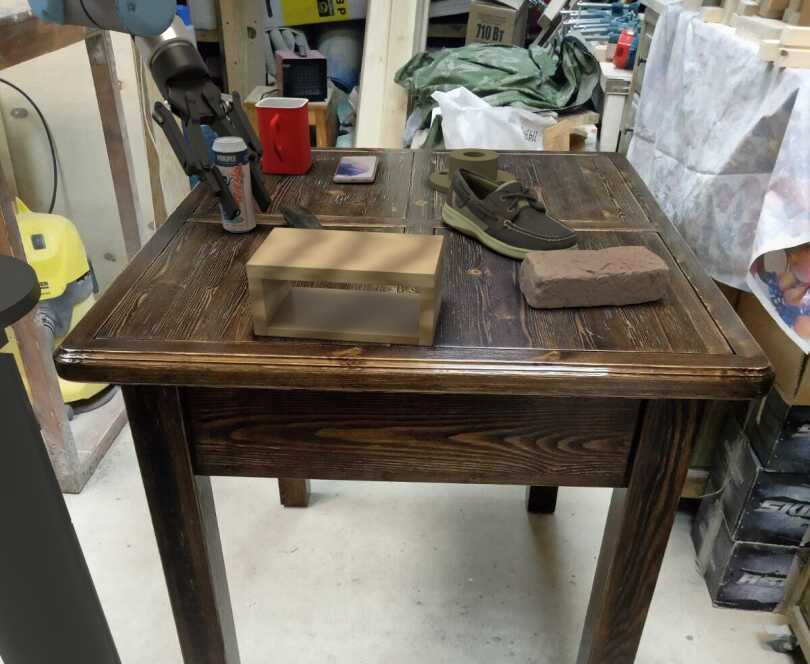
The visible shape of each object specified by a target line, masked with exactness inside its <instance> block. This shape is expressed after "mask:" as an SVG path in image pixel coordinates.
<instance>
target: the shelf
mask: <svg viewBox="0 0 810 664" xmlns="http://www.w3.org/2000/svg"><path fill="white" fill-rule="evenodd" d="M444 243H445V235H440V234H439V235H436V234H418V233H416V234H415V233H398V232H397V233H396V232H378V231H377V232H376V231H375V232H374V231H358V230H357V231H355V230H335V229H326V230H316V229H295V228H290V227H274V228H272V230H271V231H270V232H269V234H268V235H267V237H266V238H265V239H264V240H263V242H262V243H261V244H260V246H259V247H258V248H257V249H256V251H255V252H254V253H253V255H252V256H251V257H250V259H249V260H248V261H247V262H246V264H245V267H246V275H247V282H248V290H249V297H250V303H251V304H250V307H251V313H252V323H253V330H254V336H264V337H266V336H267V337H279V338H280V337H281V338H294V339H295V338H296V339H299V338H300V339H313V340H328V341H329V340H331V341H346V342H361V343H363V342H364V343H379V344H380V343H381V344H395V345H410V346H411V345H412V346H427V347H433V344H434V339H435V334H436V330H437V324H438V320H439V316H440V311H441V306H442V296H443V270H444V248H445V247H444V246H445V244H444ZM292 281H298V282H317V283H333V284H334V283H335V284H352V285H353V284H354V285H371V286H391V287H406V288H407V287H410V288H419V293H417V292H415V293H414V292H397V291H396V292H395V291H377V290H362V289H361V290H359V289H342V288H327V287H326V288H325V287H324V288H323V287H308V286H307V287H305V286H293V283H292Z"/></svg>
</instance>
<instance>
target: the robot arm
mask: <svg viewBox="0 0 810 664" xmlns="http://www.w3.org/2000/svg"><path fill="white" fill-rule="evenodd" d="M27 3H28V5H29V7H30V9H31V11H32V13H33V14H34V15H35V16H36V18H38V19H39V20H40V21H42V22H44V23H46V24H47V23H49V24H57V25H59V26H63V27H64V26H77V27H86V28H91V29H96V30H104V31H110V32H117V33H121V34H126V35H129V37H130V38H131V39H132V42H133V44H134V45H135V47H136V48H137V50H138V53H139V54H140V56H141V58H142V60H143V62H144V64H145V66H146V68H147V69H148V71H149V72H150V76H151V78H152V80H153V82H154V83H155V86H156V88H157V89H158V91H159V93H160V95H161V97H162V98H163V101H158V100H156V101H155V102H154V105H153V109H152V112H151V119H152V120H153V121H154V122H155V124H157V125H158V126H159V127H160V128H161V130H162V132H163V134H164V135H165V138H166V139H167V142H168V143H169V145H170V147H171V149H172V151H173V153H174V155H175V157H176V159H177V161H178V163H179V165H180V167H181V168H182V170H183V172H184V174H185V175H186V176H187V177H188V178H191V177H193V176H196V178H197V180H198V181H199V182H201V183H204V186H205V187H206V188H207V190H208V194H210V196H211V197H212V198H217V200H218V201H219V204H220V203H221V205H222V207H223V209H224V211H225V213H226V215H227V217H228V219H229V221H230V220H234V219H235V217H236V215H237V212H238V210H239V207H238V205H237V203H236V201H235V199H234V198H233V196H232V194H231V192H230V190H229V188H228V186H227V184H226V182H225V180H224V178H223V176H222V174H221V172H220V170H219V168H218V167H215V166H213V167H212V163H211V159H210V156H209V151H208V148H207V145H206V140H205V137H204V133H203V129H202V127H201V126H208V127H209V129H210V130H211V131H212V132H213V133H216V134H217V135H218V137H219V138H221V137H240V138H242V139H243V141H244V143H245V144H246V146H247V150H248V159H249V168H250V176H251V185H252V194H253V199H254V200H255V202H256V204H257V207H258V208H259V209H260V212H261V213H262V214H264V213H267V212H268V210H269V209H270V206H271V205H272V203H273V200H272V198H271V195H270V194H269V192H268V190H267V188H266V186H265V183H266V177H265V175H264V173H263V172H262V171H263V170H262V169H261V168H260V165H259V163H260V162H261V160H262V156H263V153H264V148H263V146H262V145H261V143H260V138H259V137H258V134H257V133H256V131H255V128H254V127H253V125H252V123H251V122H250V120H249V118H248V116H247V114H246V112H245V110H244V107H243V106H242V100H241V95H240V92H238V91H236V90H233V91H232V92H231V94H228V93H222V92H221V90H220V89H219V88H218V86H216V85H215V84H214V83H213V81H212V77H211V74H210V71H209V69H208V68H207V65H206V63H205V61H204V60H203V57H202V56H201V53H200V52H199V50H198V49H197V46H196V43H195V41H194V40H193V38H192V36H191V34H190V32H189V30H188V28H187V26H186V24H185V23H184V21H183V19H182V17H181V16H180V13H179V12H178V9H177V0H27ZM221 105H222V106H223V107H224V109H225V110H224V109H223V108H222V107H221ZM226 113H227V114H228V116H229V118H230V121H229V118H228V117H227V114H226ZM174 116H176V117H177V118H178V119H180V121H182V123H183V127H184V130H185V131H184V132H185V134H186V136H187V137H188V140H189V143H188V142H187V139H186V138H185V135H184V133H183V132H182V129H181V128H180V125H179V124H178V122H177V120H176V118H175V117H174ZM211 167H212V168H211Z"/></svg>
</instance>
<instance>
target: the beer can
mask: <svg viewBox="0 0 810 664" xmlns="http://www.w3.org/2000/svg"><path fill="white" fill-rule="evenodd" d="M211 149H212V156H213V163H214V167H218V168H219V170H220V172H221V174H222V176H223V178H224V180H225V182H226V184H227V186H228V188H229V190H230V192H231V194H232V196H233V198H234V199H235V201H236V203H237V205H238V207H239V210H238V212H237V215H236V217H235V219H234V220H230V221H229V219H228V217H227V215H226V213H225V211H224V209H223V207H222V205H221V203H220V202H219V206H220V212H221V213H220V214H221V219H222V227H223V228H224V229H225V230H226V231H228V232H230V233H234V234H241V233H248V232H250V231H252V230H253V229H254V228H255V227H256V226H257V221H256V213H255V203H254V196H253V194H252V185H251V176H250V168H249V159H248V150H247V146H246V144H245V143H244V141H243V139H242V138H240V137H221V138H220V137H217V138H215V139H214V140H213V144H212V148H211Z"/></svg>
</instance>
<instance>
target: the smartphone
mask: <svg viewBox="0 0 810 664" xmlns="http://www.w3.org/2000/svg"><path fill="white" fill-rule="evenodd" d="M378 165H379V157H378V156H377V155H358V156H356V155H355V156H354V155H353V156H350V155H349V156H348V155H347V156H346V155H345V156H342V157H340V160H339V161H338V164H337V168H336V170H335V173H334V176H333V182H335V183H338V184H339V183H340V184H342V183H373V182H374V181H375V177H376V172H377V169H378Z"/></svg>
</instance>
